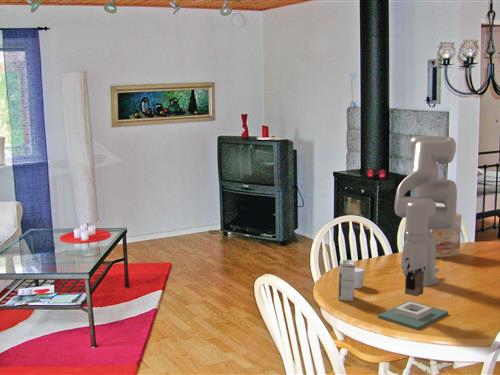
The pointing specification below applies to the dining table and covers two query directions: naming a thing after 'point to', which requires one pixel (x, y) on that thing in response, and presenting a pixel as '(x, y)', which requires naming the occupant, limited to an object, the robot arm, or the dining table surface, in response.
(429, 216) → the robot arm
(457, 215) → the coffeecake box
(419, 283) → the grey metal plug
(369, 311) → the dining table surface
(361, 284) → the white grey cup
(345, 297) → the syrup box
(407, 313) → the socket board
